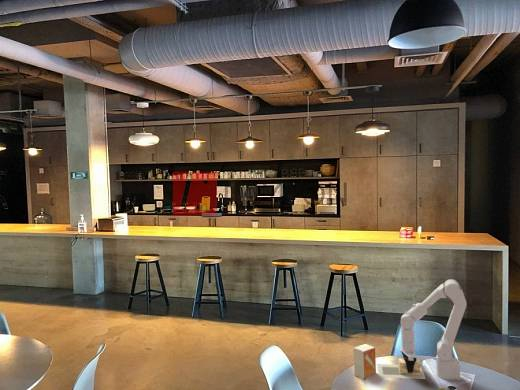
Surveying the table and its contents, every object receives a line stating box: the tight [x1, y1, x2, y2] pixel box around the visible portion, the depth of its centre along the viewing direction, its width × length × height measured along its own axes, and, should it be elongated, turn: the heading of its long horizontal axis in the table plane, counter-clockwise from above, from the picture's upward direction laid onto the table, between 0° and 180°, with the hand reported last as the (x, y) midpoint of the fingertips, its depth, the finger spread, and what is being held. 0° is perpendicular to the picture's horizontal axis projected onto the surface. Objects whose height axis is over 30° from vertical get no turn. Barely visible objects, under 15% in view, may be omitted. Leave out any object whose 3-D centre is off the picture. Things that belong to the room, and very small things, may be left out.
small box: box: [353, 343, 377, 380], centre depth 197 cm, size 8×6×13 cm
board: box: [376, 363, 427, 380], centre depth 197 cm, size 20×14×1 cm
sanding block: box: [397, 357, 421, 374], centre depth 196 cm, size 9×5×5 cm, turn 79°
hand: (409, 369), depth 196 cm, fingers closed on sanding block, 5 cm apart
